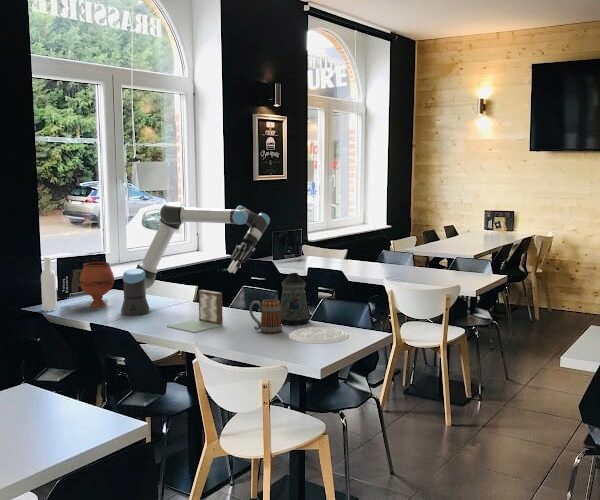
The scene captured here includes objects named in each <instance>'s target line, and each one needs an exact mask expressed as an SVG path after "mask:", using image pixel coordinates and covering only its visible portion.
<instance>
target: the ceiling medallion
mask: <svg viewBox="0 0 600 500" xmlns="http://www.w3.org/2000/svg"><path fill="white" fill-rule="evenodd" d="M288 337H289V339H290V340H293V341H294V342H295V341H296V342H297V343H303V344H305V343H306V344H323V345H324V344H334V343H339V342H343V341H345V340H348V339H349V337H350V335H349V333H348V332H346V331H345V330H342V329H340V328H336V327H331V326H308V327H301V328H297V329H295V330H293V331H291V332H290V333H289V334H288Z"/></svg>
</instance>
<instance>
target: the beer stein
mask: <svg viewBox="0 0 600 500" xmlns="http://www.w3.org/2000/svg"><path fill="white" fill-rule="evenodd" d="M306 284H307V281H305V280H304V279H303V278H302V277H301V276H300V275H299V273H298V272H291V273H289V274H288V276H287V277H286V278H285V279H283V281H281V286H282V293H281V298H280V313H281V324H282V326H286V325H288V326H287V327H300V326H306V325H308V324H309V323H310V318H311V316H310V313H309V310H308V304H307V302H308V301H307V296H306V290H305V289H306ZM299 325H300V326H299Z"/></svg>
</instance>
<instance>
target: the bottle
mask: <svg viewBox="0 0 600 500" xmlns="http://www.w3.org/2000/svg"><path fill="white" fill-rule="evenodd" d="M43 267H44V269H43V270H42V272H41V274H40V283H41V285H40V286H41V303H42V305H41V309H42V311H43V310H45V311H44V312H47V311H48V310H53V309H57V310H58V298H57V297H58V294H57V278H56V277H57V275H56V272H55V271H54V269H52V257H51V256H44V257H43ZM48 312H49V311H48Z"/></svg>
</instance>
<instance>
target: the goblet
mask: <svg viewBox="0 0 600 500" xmlns="http://www.w3.org/2000/svg"><path fill="white" fill-rule="evenodd" d="M82 267H83V268H82V270H81V273H80V276H79V286H80V288H81V290H82V291H83V292H84V293H85V294H86V295H88V296H89V297H90V296H91V299H92V300H93V301H92V302H91V304H90V306H91V307H90V306H89V307H90V308H93V307H99V308H104V307H106V306H107V304H106V303H105V301H104V300H103V296H104V295H106V294H107V293H108V292H110V290H111V289H112V288H113V286H114V284H115V276H114V272H113V271H112V268H111V265H110V262H106V261H92V262H87V263H83V266H82ZM103 306H104V307H103Z"/></svg>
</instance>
